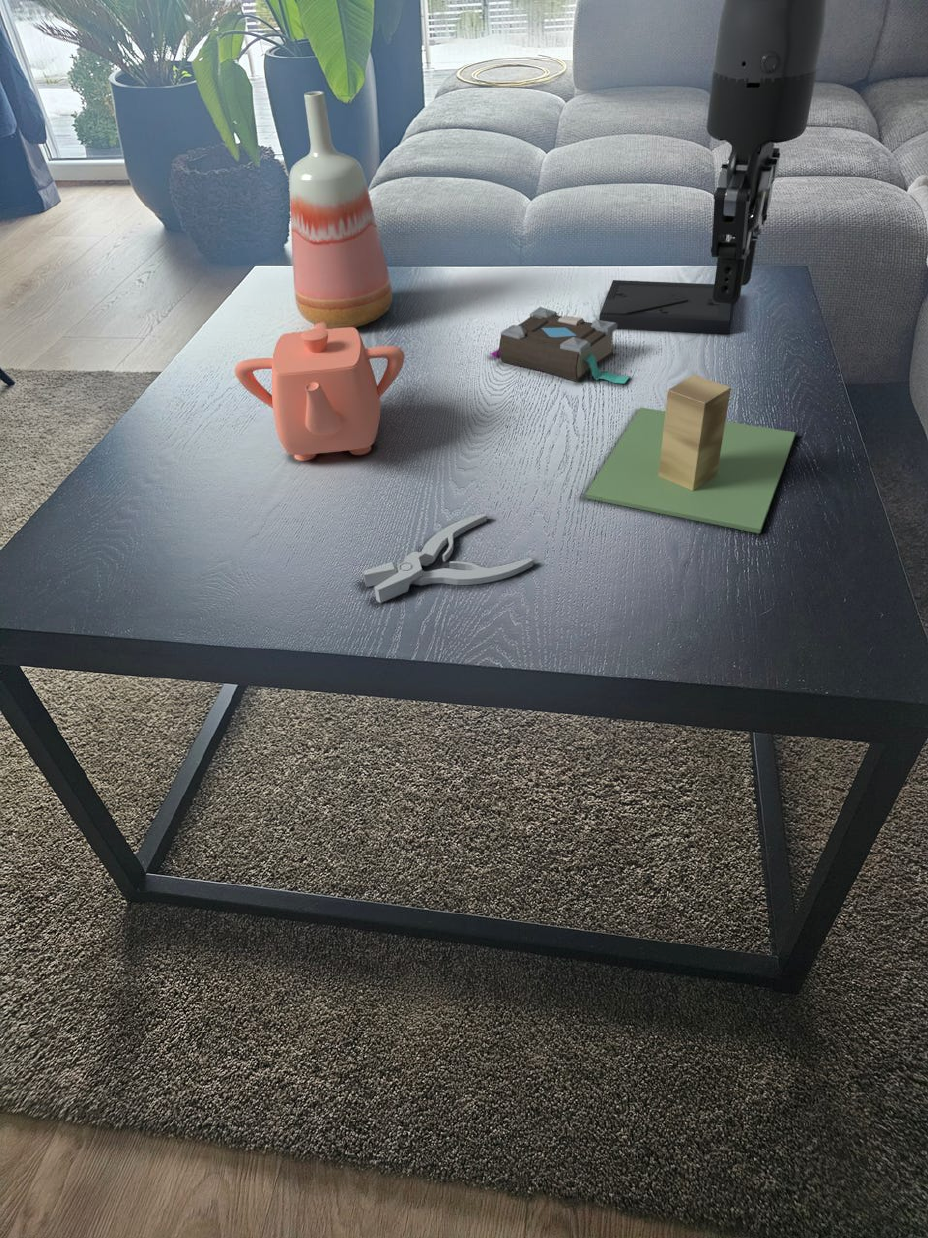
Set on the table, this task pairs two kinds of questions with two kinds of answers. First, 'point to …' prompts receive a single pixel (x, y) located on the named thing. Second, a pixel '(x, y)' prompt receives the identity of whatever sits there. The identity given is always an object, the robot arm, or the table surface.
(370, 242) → the vase
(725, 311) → the picture frame
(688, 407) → the block
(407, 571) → the pliers
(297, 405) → the teapot
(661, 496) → the mat
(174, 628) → the table surface
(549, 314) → the book
